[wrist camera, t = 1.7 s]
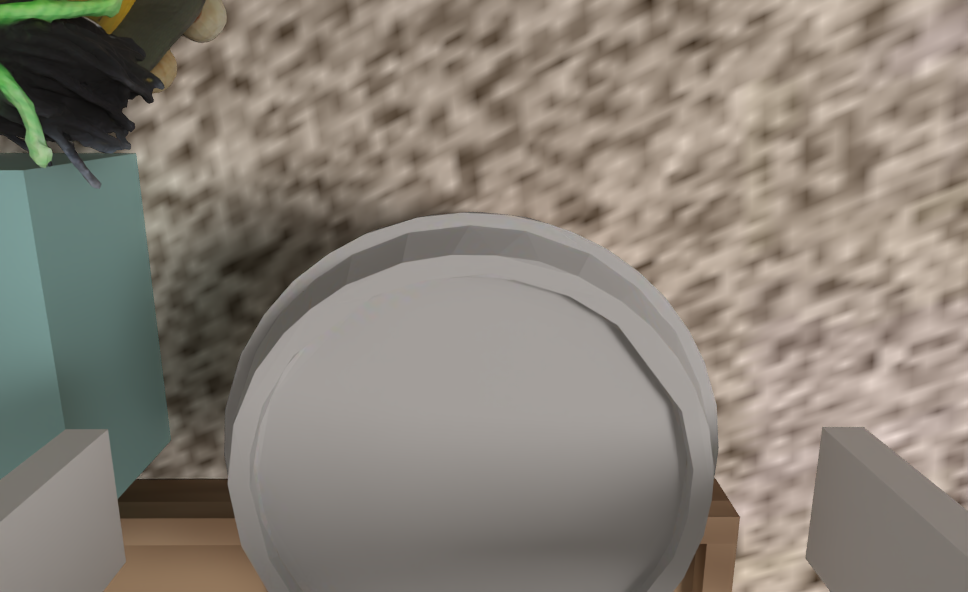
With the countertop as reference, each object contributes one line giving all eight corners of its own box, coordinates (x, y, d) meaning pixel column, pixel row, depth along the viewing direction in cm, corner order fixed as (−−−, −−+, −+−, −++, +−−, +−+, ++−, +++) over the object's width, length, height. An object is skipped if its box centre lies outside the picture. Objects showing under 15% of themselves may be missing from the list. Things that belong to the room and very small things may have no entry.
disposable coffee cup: (282, 348, 25) (109, 568, 13) (425, 104, 22) (371, 106, 11) (516, 479, 26) (548, 784, 14) (670, 261, 24) (853, 411, 12)
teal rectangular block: (-4, 152, 23) (-167, 169, 17) (137, 153, 23) (22, 170, 17) (45, 438, 26) (-82, 537, 20) (172, 438, 26) (83, 537, 20)
